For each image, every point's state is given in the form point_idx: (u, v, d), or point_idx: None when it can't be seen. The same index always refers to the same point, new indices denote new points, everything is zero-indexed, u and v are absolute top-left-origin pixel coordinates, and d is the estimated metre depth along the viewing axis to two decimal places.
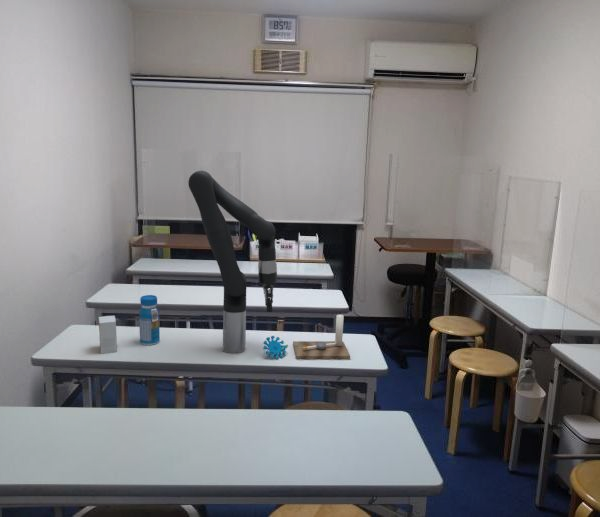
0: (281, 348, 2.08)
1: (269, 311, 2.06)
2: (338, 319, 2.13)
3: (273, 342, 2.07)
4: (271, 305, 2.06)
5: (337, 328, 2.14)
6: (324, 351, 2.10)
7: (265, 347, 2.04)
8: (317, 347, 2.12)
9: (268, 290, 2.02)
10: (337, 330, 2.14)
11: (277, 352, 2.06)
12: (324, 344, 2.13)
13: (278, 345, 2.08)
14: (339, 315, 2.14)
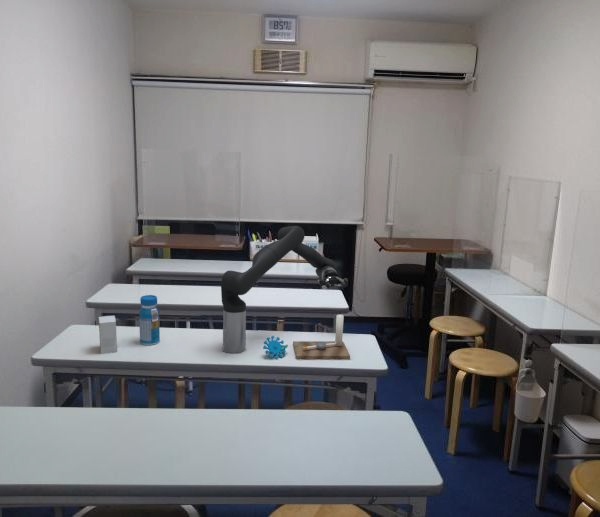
0: (281, 348, 2.08)
1: (344, 286, 2.26)
2: (338, 319, 2.13)
3: (273, 342, 2.08)
4: None
5: (337, 328, 2.14)
6: (324, 351, 2.10)
7: (265, 347, 2.05)
8: (317, 347, 2.12)
9: None
10: (337, 330, 2.14)
11: (277, 352, 2.06)
12: (324, 344, 2.13)
13: (278, 345, 2.08)
14: (339, 315, 2.14)
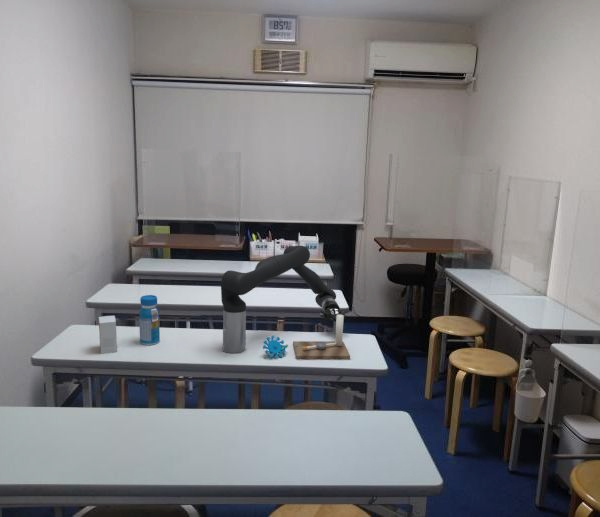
0: (281, 348, 2.08)
1: None
2: (338, 319, 2.13)
3: (273, 342, 2.08)
4: None
5: (337, 328, 2.14)
6: (324, 351, 2.10)
7: (265, 346, 2.05)
8: (317, 347, 2.12)
9: (346, 313, 2.33)
10: (337, 330, 2.14)
11: (277, 352, 2.06)
12: (324, 344, 2.13)
13: (278, 345, 2.08)
14: (339, 315, 2.14)
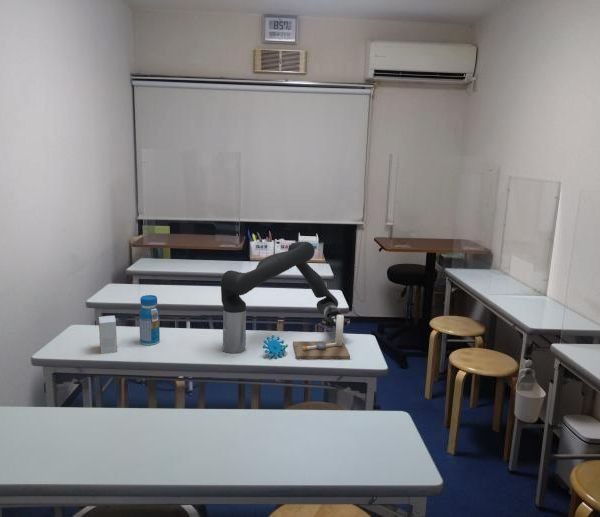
0: (281, 348, 2.08)
1: None
2: (338, 319, 2.13)
3: (273, 341, 2.08)
4: None
5: (337, 328, 2.14)
6: (324, 351, 2.10)
7: (264, 346, 2.05)
8: (317, 347, 2.12)
9: (349, 321, 2.25)
10: (337, 330, 2.14)
11: (276, 351, 2.06)
12: (324, 344, 2.13)
13: (278, 345, 2.08)
14: (339, 315, 2.14)
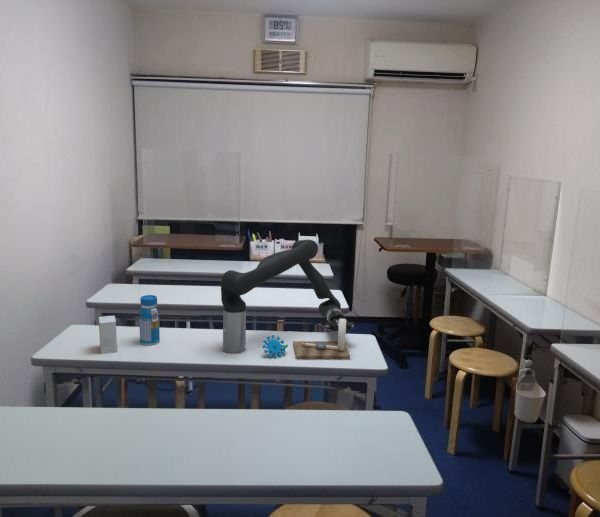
0: (281, 347, 2.08)
1: None
2: (339, 323, 2.09)
3: (273, 341, 2.08)
4: None
5: (338, 332, 2.10)
6: (324, 351, 2.10)
7: (264, 346, 2.06)
8: (315, 346, 2.13)
9: (353, 324, 2.21)
10: (338, 334, 2.10)
11: (276, 351, 2.06)
12: (323, 345, 2.12)
13: (278, 344, 2.08)
14: (342, 319, 2.09)
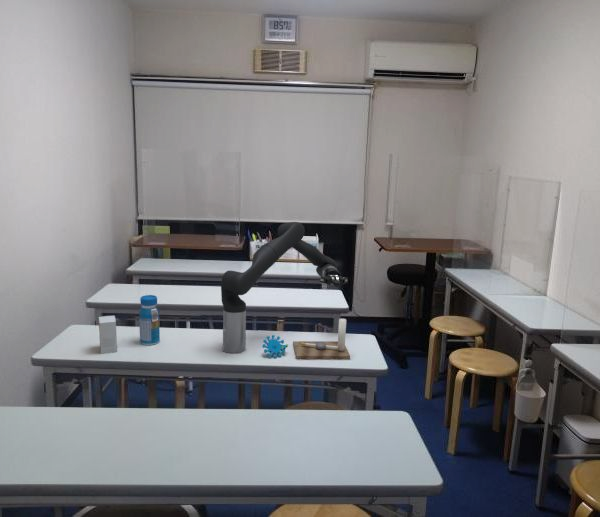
0: (280, 347, 2.08)
1: (338, 284, 2.23)
2: (339, 323, 2.09)
3: (273, 341, 2.09)
4: None
5: (338, 332, 2.10)
6: (324, 351, 2.10)
7: (264, 345, 2.06)
8: (315, 346, 2.13)
9: None
10: (338, 334, 2.10)
11: (276, 351, 2.07)
12: (323, 345, 2.12)
13: (278, 344, 2.09)
14: (342, 319, 2.09)
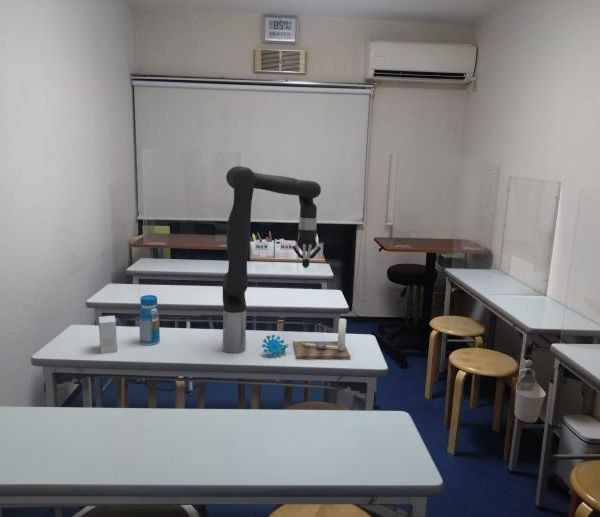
0: (280, 347, 2.08)
1: None
2: (339, 323, 2.09)
3: (273, 341, 2.09)
4: None
5: (338, 332, 2.10)
6: (324, 351, 2.10)
7: (264, 345, 2.06)
8: (315, 346, 2.13)
9: None
10: (338, 334, 2.10)
11: (276, 351, 2.07)
12: (323, 345, 2.12)
13: (278, 344, 2.09)
14: (342, 319, 2.09)
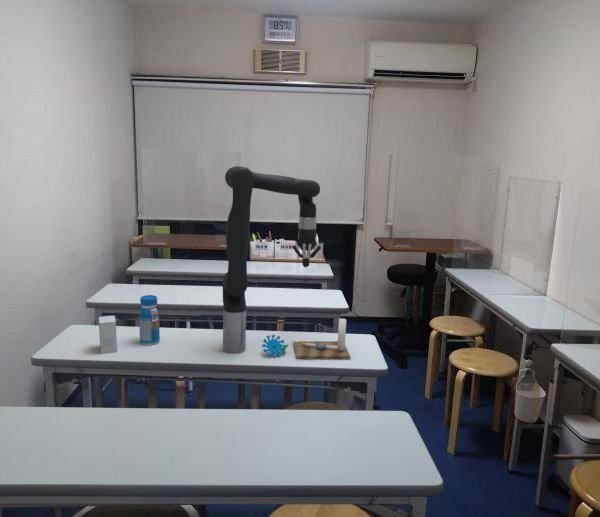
0: (280, 347, 2.08)
1: None
2: (339, 323, 2.09)
3: (273, 341, 2.09)
4: None
5: (338, 332, 2.10)
6: (324, 351, 2.10)
7: (264, 345, 2.07)
8: (315, 346, 2.13)
9: None
10: (338, 334, 2.10)
11: (275, 351, 2.07)
12: (323, 345, 2.12)
13: (278, 344, 2.09)
14: (342, 319, 2.09)
